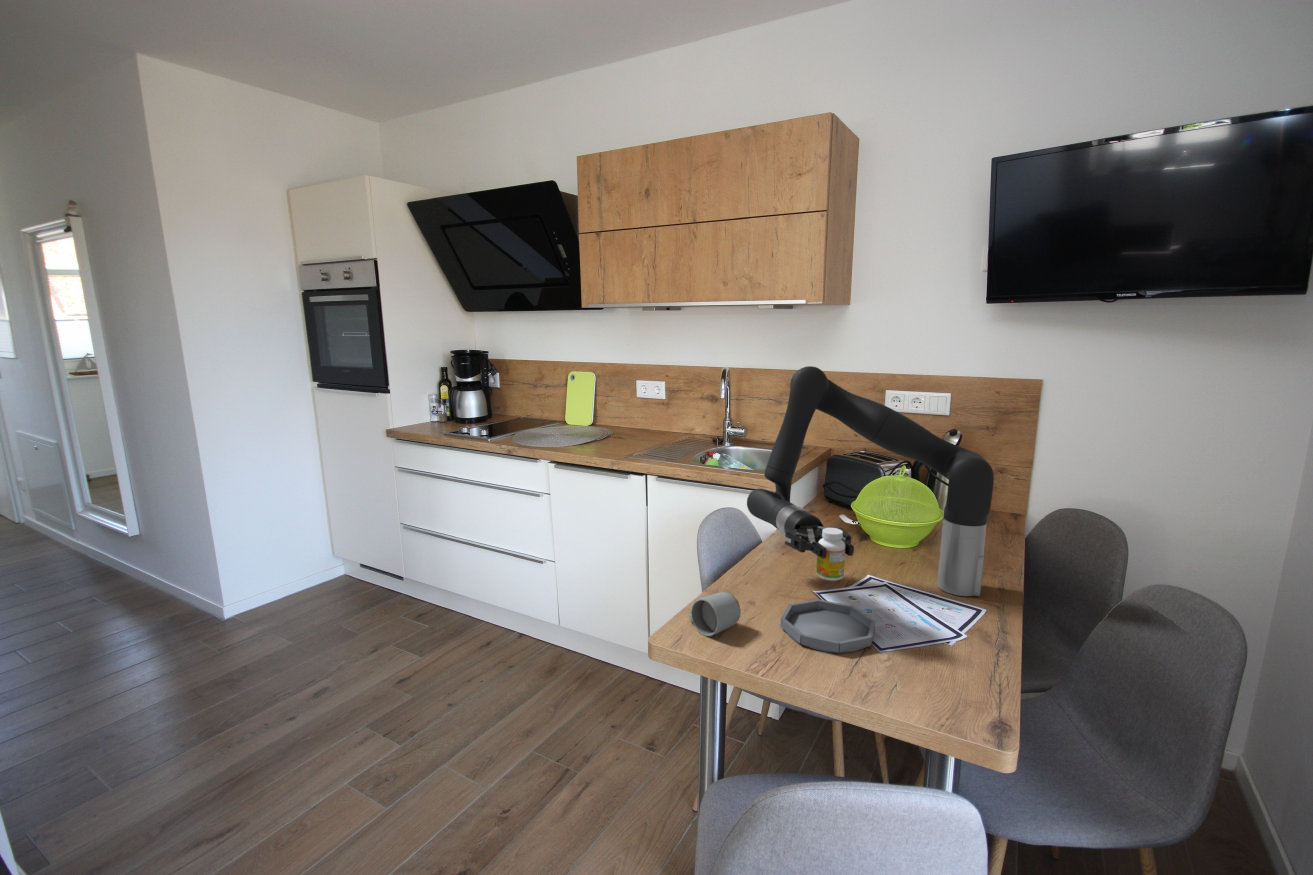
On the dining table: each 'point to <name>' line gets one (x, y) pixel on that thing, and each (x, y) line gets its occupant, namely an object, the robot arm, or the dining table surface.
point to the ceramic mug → (715, 613)
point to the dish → (828, 626)
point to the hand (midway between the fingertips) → (838, 552)
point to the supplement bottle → (832, 555)
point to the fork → (847, 520)
